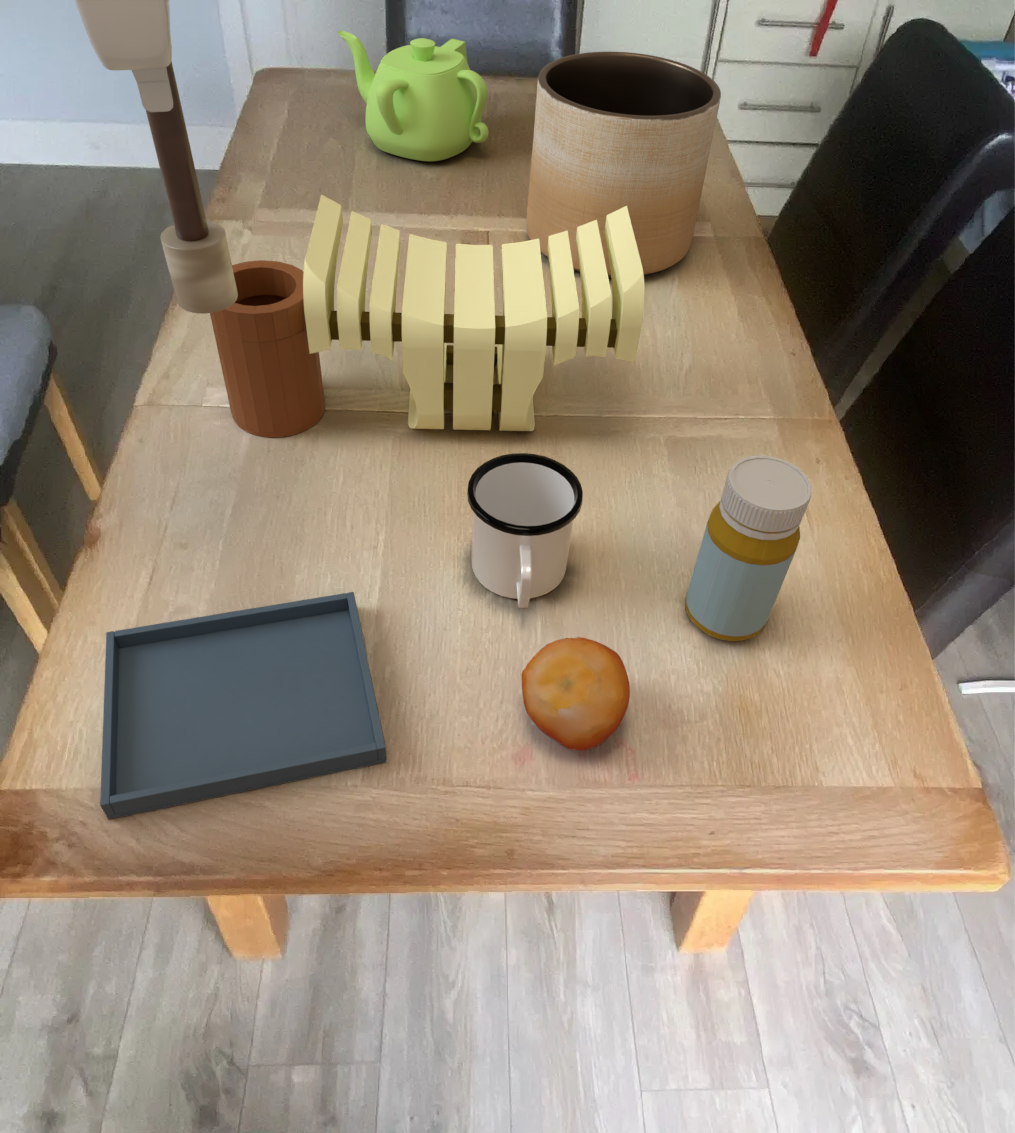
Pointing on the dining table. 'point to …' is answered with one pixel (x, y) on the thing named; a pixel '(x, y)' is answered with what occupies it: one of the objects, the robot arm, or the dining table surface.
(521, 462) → the mug
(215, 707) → the tray
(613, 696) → the fruit
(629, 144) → the planter
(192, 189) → the bottle brush
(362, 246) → the slatted curved stool
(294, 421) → the terracotta utensil crock
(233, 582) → the dining table surface
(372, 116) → the teapot
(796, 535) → the bottle
